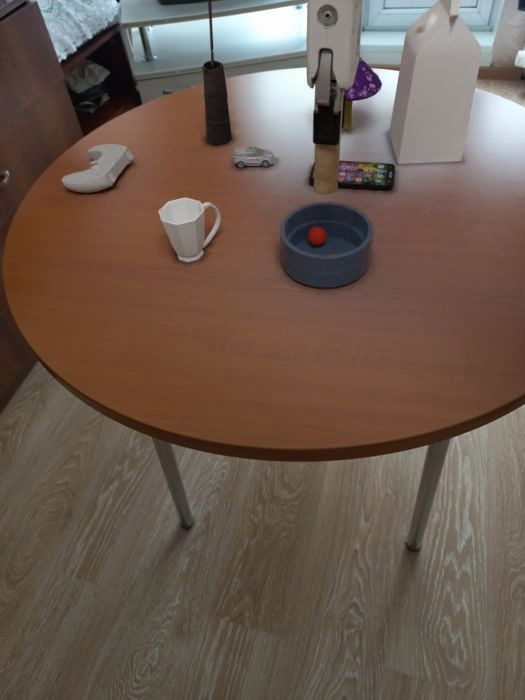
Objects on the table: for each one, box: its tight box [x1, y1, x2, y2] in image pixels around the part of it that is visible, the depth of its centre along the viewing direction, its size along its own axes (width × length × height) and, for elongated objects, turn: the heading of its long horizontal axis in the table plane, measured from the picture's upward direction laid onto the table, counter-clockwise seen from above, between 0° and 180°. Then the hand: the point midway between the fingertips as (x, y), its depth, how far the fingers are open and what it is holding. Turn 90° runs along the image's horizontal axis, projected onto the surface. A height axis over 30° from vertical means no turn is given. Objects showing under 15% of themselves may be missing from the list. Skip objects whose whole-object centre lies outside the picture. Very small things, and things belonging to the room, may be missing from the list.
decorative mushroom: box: [341, 56, 383, 131], centre depth 100 cm, size 12×12×15 cm
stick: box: [313, 88, 344, 196], centre depth 65 cm, size 3×3×13 cm
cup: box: [157, 197, 222, 263], centre depth 80 cm, size 7×10×8 cm
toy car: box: [233, 145, 276, 169], centre depth 98 cm, size 4×8×3 cm, turn 88°
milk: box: [388, 0, 482, 165], centre depth 90 cm, size 12×12×26 cm
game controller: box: [61, 143, 135, 194], centre depth 98 cm, size 14×4×10 cm
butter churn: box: [200, 0, 233, 146], centre depth 95 cm, size 9×10×28 cm
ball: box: [308, 227, 327, 246], centre depth 80 cm, size 3×3×3 cm
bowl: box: [279, 201, 375, 289], centre depth 77 cm, size 13×13×6 cm
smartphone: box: [308, 160, 396, 191], centre depth 93 cm, size 8×1×15 cm
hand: (328, 134), depth 64 cm, fingers closed on stick, 3 cm apart
